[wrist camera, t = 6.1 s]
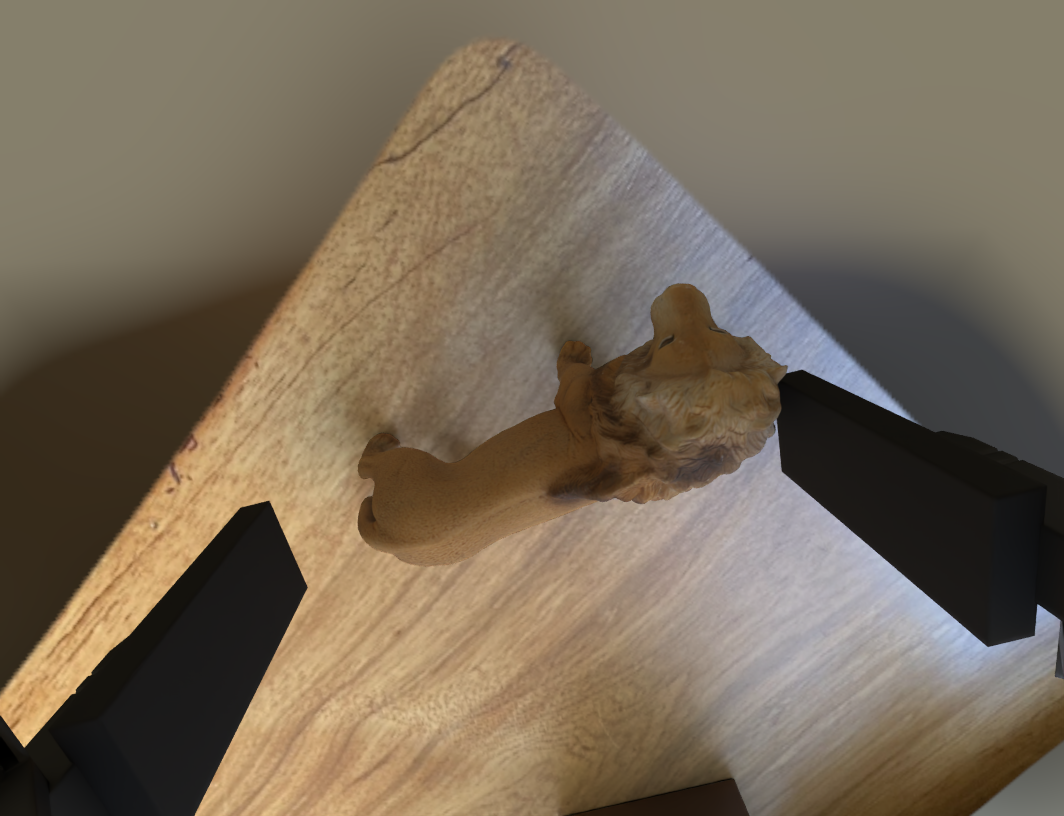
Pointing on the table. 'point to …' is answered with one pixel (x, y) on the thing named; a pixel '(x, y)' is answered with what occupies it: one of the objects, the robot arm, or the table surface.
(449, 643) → the table surface
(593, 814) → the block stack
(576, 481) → the lion figurine
